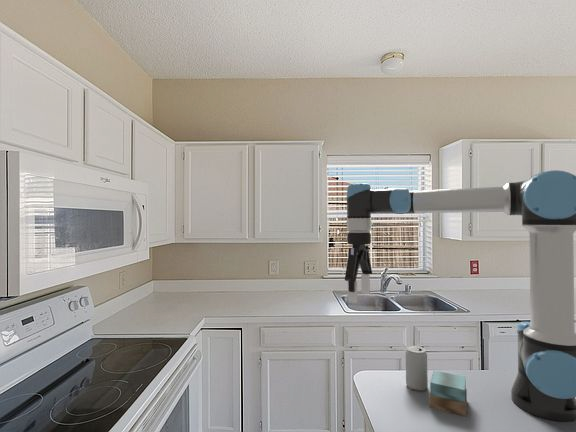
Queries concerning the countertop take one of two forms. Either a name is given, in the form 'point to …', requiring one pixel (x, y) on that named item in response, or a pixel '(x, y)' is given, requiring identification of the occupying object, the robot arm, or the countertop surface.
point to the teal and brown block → (448, 393)
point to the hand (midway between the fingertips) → (359, 297)
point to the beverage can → (416, 368)
